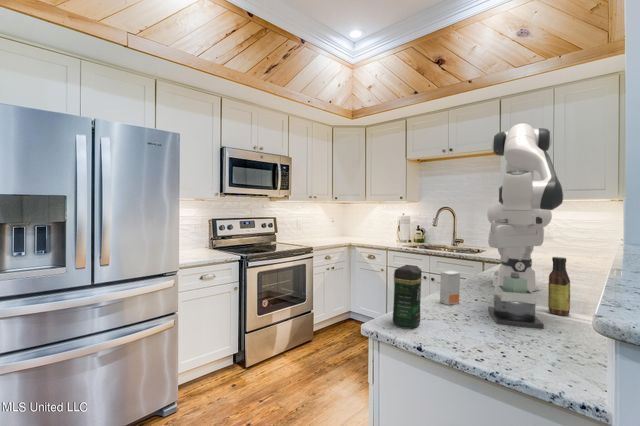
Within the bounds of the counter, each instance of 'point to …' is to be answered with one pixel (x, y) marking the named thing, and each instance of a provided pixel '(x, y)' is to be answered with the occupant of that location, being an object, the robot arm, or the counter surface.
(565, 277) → the sauce bottle
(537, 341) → the counter surface
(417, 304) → the coffee jar
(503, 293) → the framed dark dome
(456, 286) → the skincare box
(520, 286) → the pale green block
